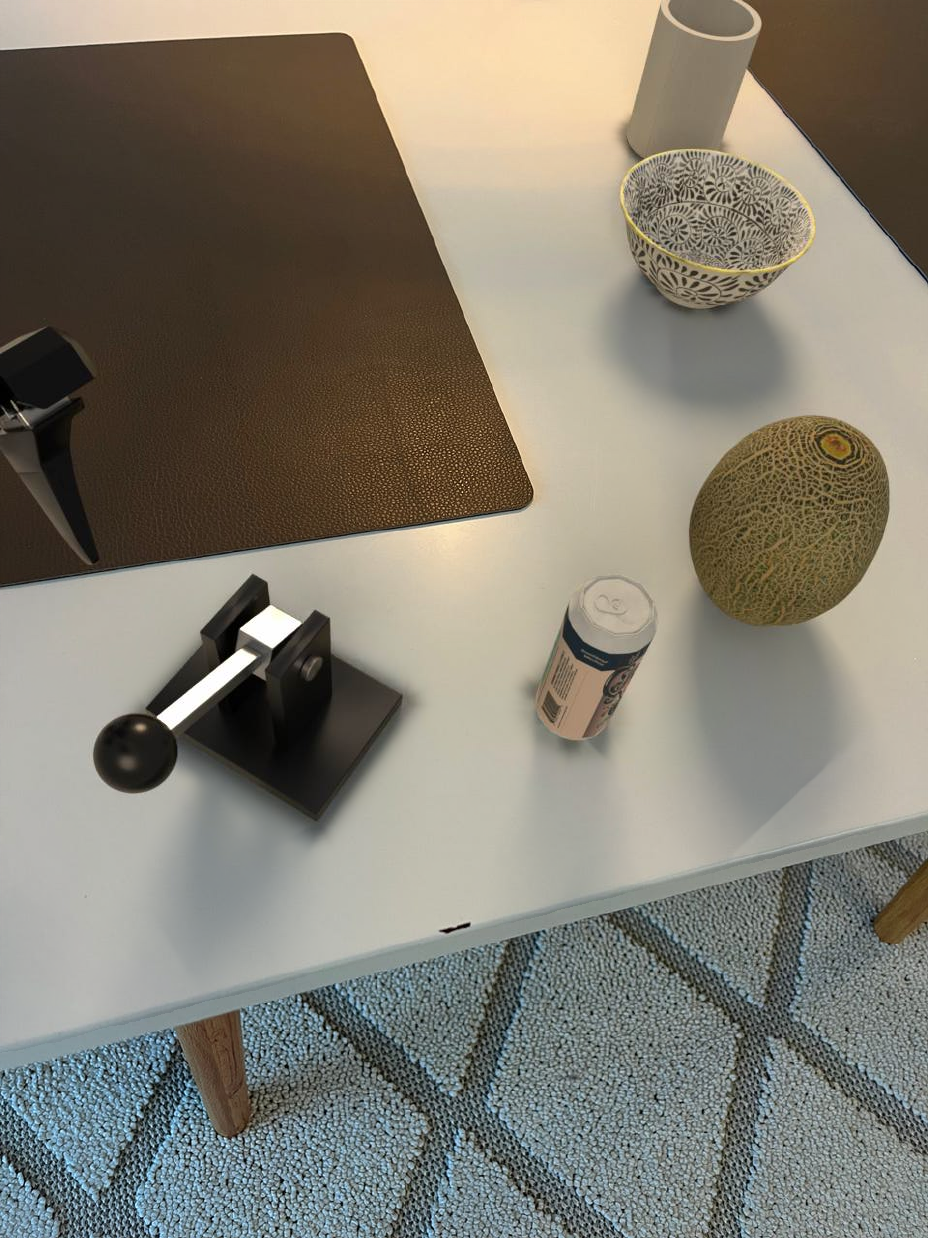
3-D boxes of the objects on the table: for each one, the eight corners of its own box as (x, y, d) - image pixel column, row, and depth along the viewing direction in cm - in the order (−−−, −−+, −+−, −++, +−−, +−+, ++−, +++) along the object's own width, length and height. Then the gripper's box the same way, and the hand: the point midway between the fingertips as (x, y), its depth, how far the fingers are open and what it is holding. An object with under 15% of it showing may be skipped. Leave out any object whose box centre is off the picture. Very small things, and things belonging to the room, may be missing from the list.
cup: (608, 132, 94) (640, 2, 84) (669, 107, 98) (707, -21, 88) (674, 180, 91) (715, 50, 81) (735, 151, 94) (781, 24, 84)
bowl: (668, 367, 77) (696, 290, 70) (566, 248, 83) (584, 169, 77) (816, 318, 82) (855, 242, 76) (709, 210, 89) (736, 133, 82)
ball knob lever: (137, 823, 42) (142, 771, 40) (74, 782, 43) (75, 728, 40) (305, 669, 52) (316, 620, 50) (252, 637, 53) (261, 588, 50)
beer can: (606, 750, 58) (661, 652, 48) (529, 736, 58) (567, 634, 48) (611, 682, 60) (665, 575, 50) (538, 668, 60) (576, 558, 50)
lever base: (316, 822, 53) (311, 750, 45) (148, 717, 56) (113, 630, 48) (402, 703, 58) (411, 618, 50) (243, 610, 60) (226, 514, 52)
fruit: (631, 562, 66) (698, 406, 53) (748, 501, 70) (835, 344, 57) (740, 688, 61) (842, 550, 49) (858, 615, 65) (980, 471, 53)
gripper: (-546, 428, 26) (-138, 810, 34) (21, 158, 35) (245, 509, 42) (-507, 444, 34) (-186, 748, 42) (-56, 223, 43) (143, 506, 51)
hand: (13, 622), depth 44 cm, fingers open, 9 cm apart
